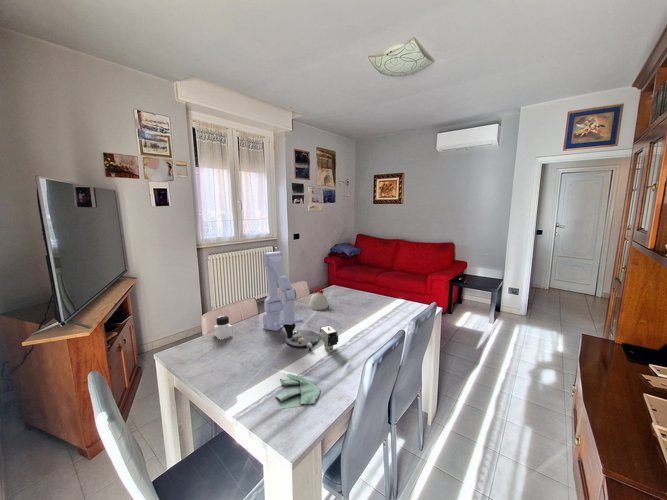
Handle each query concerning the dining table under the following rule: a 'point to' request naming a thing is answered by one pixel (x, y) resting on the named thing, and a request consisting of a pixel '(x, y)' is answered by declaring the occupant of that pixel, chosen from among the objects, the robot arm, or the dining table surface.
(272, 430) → the dining table surface
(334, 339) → the pneumatic valve
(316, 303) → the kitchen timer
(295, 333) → the cover
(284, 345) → the base plate
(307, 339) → the turntable
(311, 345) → the silver oval knob
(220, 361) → the dining table surface
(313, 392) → the cloth
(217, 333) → the medicine bottle
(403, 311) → the dining table surface
